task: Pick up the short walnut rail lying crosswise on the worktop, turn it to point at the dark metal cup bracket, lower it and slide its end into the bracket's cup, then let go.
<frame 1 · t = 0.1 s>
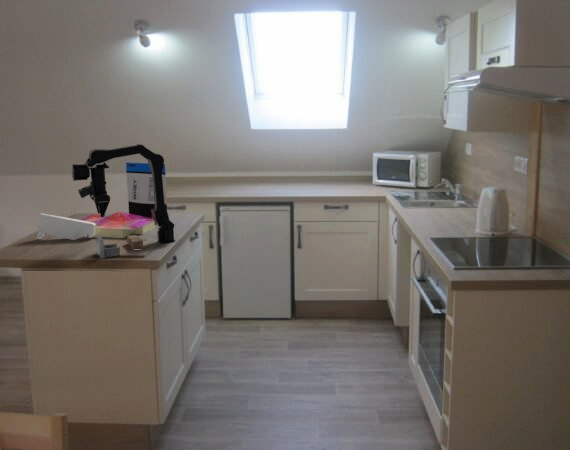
hand: (100, 215, 270), 15 cm above the worktop, tool pointing down, fingers open, 9 cm apart
protein powder: (148, 220, 332), on the worktop
cup bracket: (111, 254, 262), on the worktop
rail: (135, 247, 275), on the worktop
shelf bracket: (66, 239, 290), on the worktop
house model: (110, 232, 305), on the worktop
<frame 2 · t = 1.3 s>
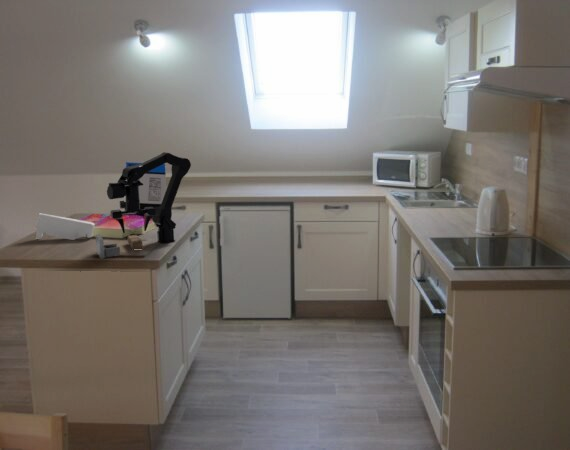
hand: (134, 231, 274), 7 cm above the worktop, tool pointing down, fingers open, 9 cm apart
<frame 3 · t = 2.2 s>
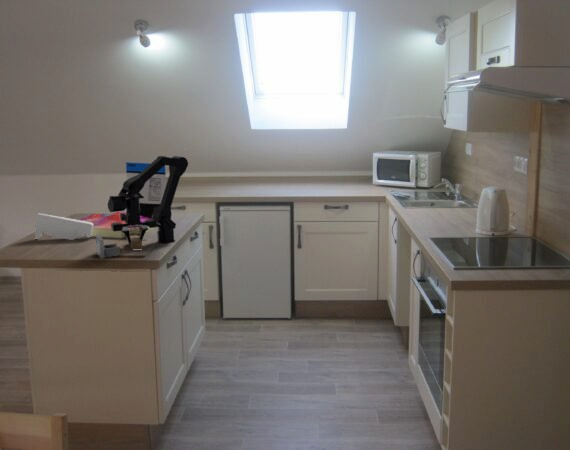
hand: (135, 244, 275), 1 cm above the worktop, tool pointing down, fingers closed on rail, 4 cm apart
rail: (135, 247, 275), on the worktop, touching gripper
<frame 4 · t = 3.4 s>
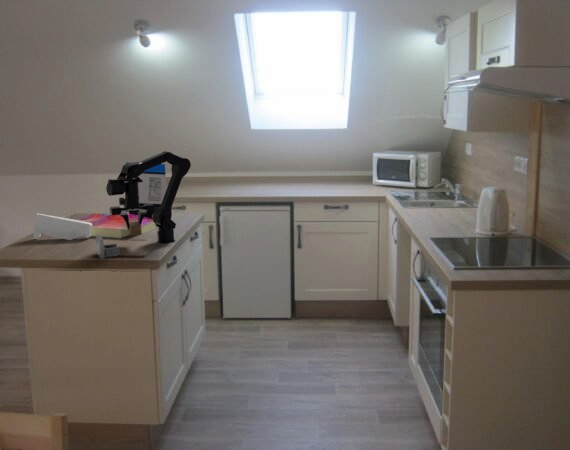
hand: (133, 228, 273), 8 cm above the worktop, tool pointing down, fingers closed on rail, 4 cm apart
rail: (134, 231, 273), point 7 cm above the worktop, touching gripper
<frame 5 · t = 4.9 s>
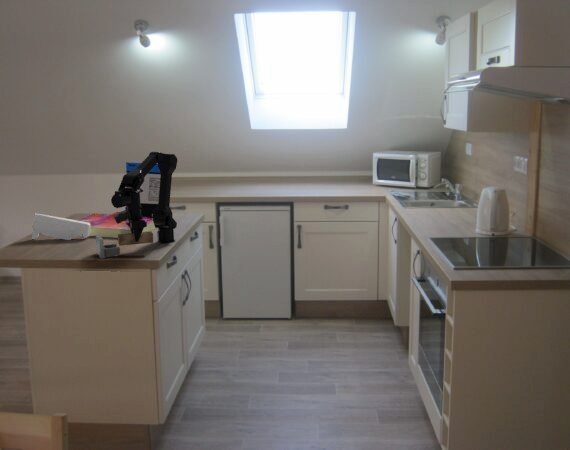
hand: (135, 240, 265), 5 cm above the worktop, tool pointing down, fingers closed on rail, 4 cm apart
rail: (135, 243, 266), point 4 cm above the worktop, touching gripper
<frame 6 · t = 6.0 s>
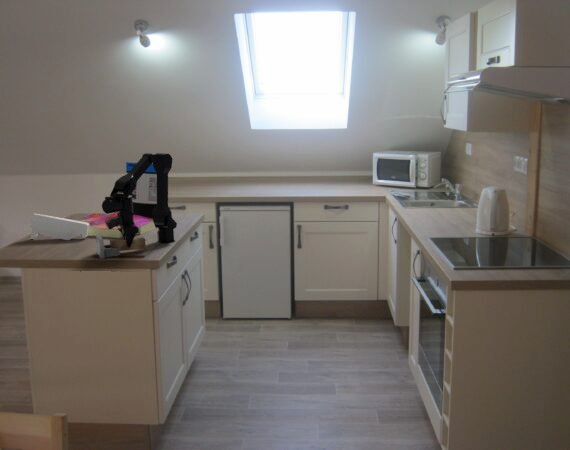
hand: (127, 246, 264), 3 cm above the worktop, tool pointing down, fingers closed on rail, 4 cm apart
rail: (127, 249, 265), point 2 cm above the worktop, touching gripper
when the fingers open (2 cm above the worktop, at t = 6.7 s): rail drops 2 cm, on the worktop.
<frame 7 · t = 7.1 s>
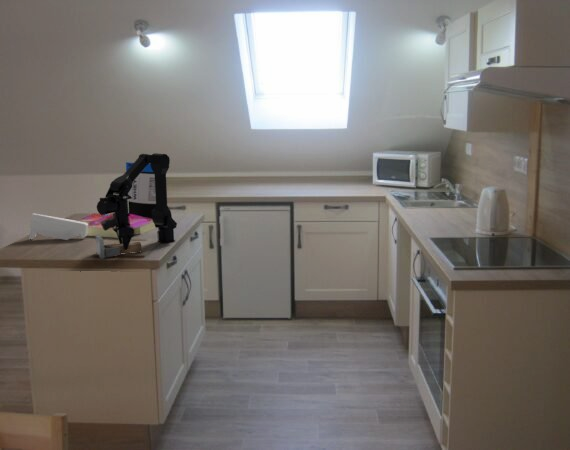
hand: (123, 247, 264), 2 cm above the worktop, tool pointing down, fingers open, 8 cm apart
rail: (124, 253, 264), on the worktop
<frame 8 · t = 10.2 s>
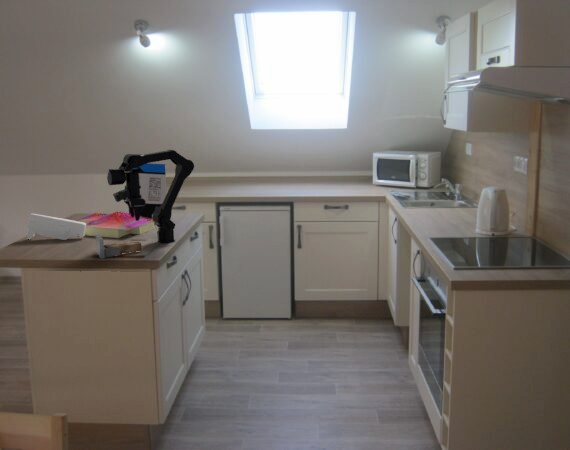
hand: (134, 218, 275), 12 cm above the worktop, tool pointing down, fingers open, 9 cm apart
at the end: rail 0.4 cm from the target spot on the cup bracket, point 0.0 cm above the cup bracket's base; rail tilted 0°; the gripper is holding nothing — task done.
